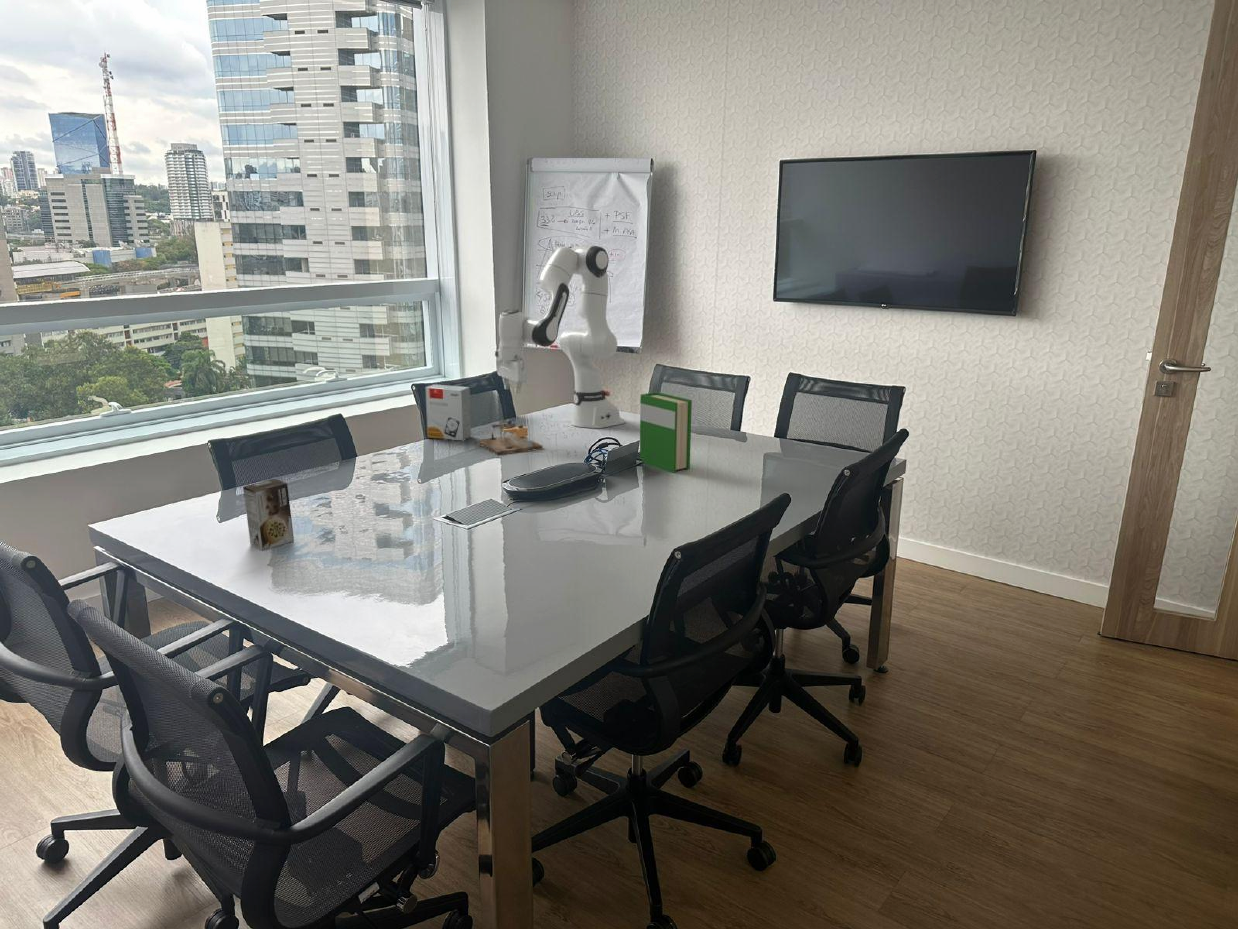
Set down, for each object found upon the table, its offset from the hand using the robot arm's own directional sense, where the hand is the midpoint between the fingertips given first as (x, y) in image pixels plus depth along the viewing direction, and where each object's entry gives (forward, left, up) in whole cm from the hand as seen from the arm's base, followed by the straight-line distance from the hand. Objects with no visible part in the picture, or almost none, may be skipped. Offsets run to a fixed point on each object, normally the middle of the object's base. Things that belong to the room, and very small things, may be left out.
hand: (512, 391), depth 324 cm
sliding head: (+3, +7, -18) cm, 19 cm away
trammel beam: (+3, +5, -18) cm, 19 cm away
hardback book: (-32, +56, -20) cm, 67 cm away
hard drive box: (+19, -18, -20) cm, 33 cm away
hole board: (+4, +5, -20) cm, 21 cm away
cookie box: (+98, +68, -20) cm, 121 cm away
